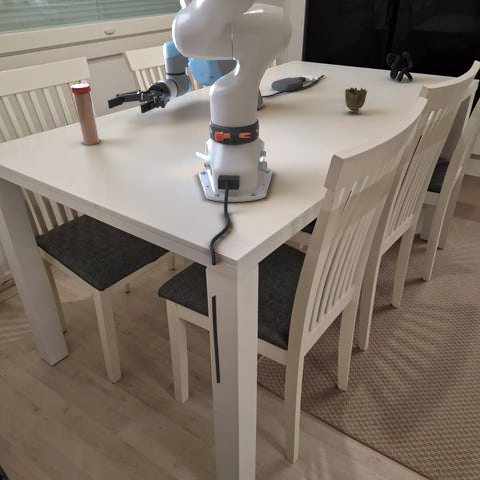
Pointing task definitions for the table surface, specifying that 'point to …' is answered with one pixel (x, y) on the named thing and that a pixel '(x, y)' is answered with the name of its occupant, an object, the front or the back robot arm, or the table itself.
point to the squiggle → (399, 66)
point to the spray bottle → (291, 83)
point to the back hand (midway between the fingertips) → (125, 106)
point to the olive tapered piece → (355, 99)
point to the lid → (80, 88)
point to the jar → (86, 118)
